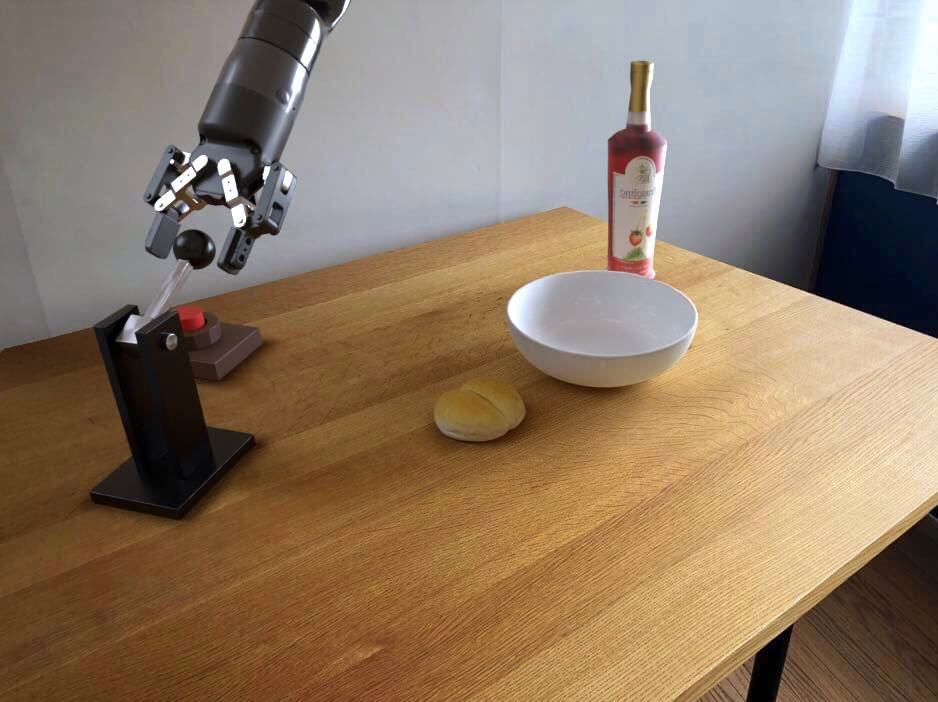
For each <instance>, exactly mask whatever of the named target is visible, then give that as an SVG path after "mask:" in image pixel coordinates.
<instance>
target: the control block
mask: <svg viewBox="0 0 938 702" xmlns="http://www.w3.org/2000/svg"><path fill="white" fill-rule="evenodd" d="M202 312H203V316H204V321H205V326H203V327H202V328H201V329H198V330H195V331H191V332H183V333H184V337H185V341H186V345H187V349H188V353H189V357H190V361H191V366H192V370H193V374H194V378H197V379H204V380H208V381H209V380H210V381H215V382H218V381H220V380H222V378H224V377H225V376H226V375H228V373H230V372H231V371H232V370H233V369H234V368H235V367H237V366H238V365H239V364H240V363H241V362H242V361H244V360H245V359H246V358H247V357H249V356H250V355H251V354H252V353H253V352H254V351H256V350H257V349H258V348H259V347H260V346H262V345H263V340H262V335H261V331H260V330H261V329H260V327H257V326H252V325H245V324H244V325H243V324H237V323H230V322H222V321H220V318H219V317H218V316H217V315H216V314H214V313H213V312H209V311H204V310H202Z"/></svg>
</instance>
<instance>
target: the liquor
mask: <svg viewBox="0 0 938 702" xmlns="http://www.w3.org/2000/svg"><path fill="white" fill-rule="evenodd" d="M629 70H630V71H629V82H630V94H629V101H628V102H629V103H628V108H627V109H628V110H627V117H626V122H625V123H626V124H625V128H623V129H621V130H617V131H616V132H615V133H613V135H611V136H610V137H609V138H608V139H607V265H606V267H605V268H604V270H603V271H616V272H624V273H631V274H636V275H641V276H645V277H648V278H651V279H655V276H656V272H655V270H654V268H653V265H654V264H653V263H654V252H655V245H656V243H655V242H656V233H657V225H658V216H659V209H660V203H661V196H662V189H663V181H664V171H665V163H666V155H667V147H668V140H667V139H666V138H665V137H664V136H662V135H661V133H660V132H657V131H655V130H653V129H651V98H650V93H651V91H650V90H651V86H652V81H653V75H654V62H653V61H649V60H634V61H633V60H632V61H631V62H630V69H629Z"/></svg>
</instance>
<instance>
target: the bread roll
mask: <svg viewBox="0 0 938 702" xmlns="http://www.w3.org/2000/svg"><path fill="white" fill-rule="evenodd" d="M526 412H527V410H526V406H525V404H524V401H523V398H522V397H521V395H520V394H519V392H518V391H517V390H516V388H514V386H512V385H511V384H510V383H508V382H507V381H505V380H504V379H502V378H499V377H496V376H495V377H494V376H478V377H474V378H472V379H470V380H469V381H467V382H466V383H465V384H464V385H462V387H461V388H459V389H452V390H451V389H450V390H448V391H446V392H444V393H442V395H440V397H438V399H437V400H436V402H435V404H434V406H433V419H434V421H435V422H434V423H435V424H436V426H437V428H438V429H439V430H440V433H442V434H443V435H445V436H446V437H449V438H451V439H454V440H458V441H463V442H464V441H466V442H487V441H488V442H489V441H493V440H495V439H498V438H500V437H502V436H504V435H506V434H507V433H508V432H509V431H511V430H514V429H516V428H517V427H518V426H519V425H520V424H521V423H522V421H523V420H524V418H525V416H526Z"/></svg>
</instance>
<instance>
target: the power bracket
mask: <svg viewBox="0 0 938 702" xmlns="http://www.w3.org/2000/svg"><path fill="white" fill-rule="evenodd" d="M131 315H138V316H141V312H140V310H139V306H138V305H137V304H130V303H127V304H126V305H124V306H123V307H121V308H119V309H118V310H116V311H115V312H113V313H111V314H109V315H108V316H106V317H104V318H103V319H101V320H100V321H99V322H97V323H95V324H93V325H92V329H93V332H94V335H95V339H96V343H97V345H98V349H99V352H100V355H101V358H102V361H103V364H104V365H103V366H104V368H105V371H106V375H107V378H108V381H109V385H110V388H111V391H112V395H113V398H114V401H115V405H116V408H117V410H118V414H119V417H120V421H121V424H122V428H123V430H124V433H125V436H126V441H127V443H128V447H129V450H130V453H131V456H129V457H128V458H127V459H126V460H125V461H124V462H123V463H121V464H120V465H119V466H117V468H115V469H114V470H113V471H111V472H110V473H109V474H108V475H106V477H104V478H103V479H102V480H101V481H100V482H98V483H97V484H96V485H95V486H94V487H93V488H91V489H90V490H89V491H88V494H89V496H90V499H91V502H92V503H93V504H94V503H95V504H99V505H103V506H109V507H114V508H117V509H118V508H119V509H124V510H128V511H134V512H138V513H144V514H147V515H148V514H149V515H153V516H158V517H162V518H167V519H172V520H178V521H181V520H183V518H184V517H185V516H186V515H188V513H189V512H190V511H191V510H193V508H194V507H195V506H196V505H197V504H198V503H199V502H200V501H201V500H203V498H204V497H205V496H206V495H207V494H208V493H209V492H210V491H211V490H212V489H213V488H214V487H215V486H216V485H217V484H218V483H219V482H221V480H222V479H223V478H224V477H225V476H226V475H227V474H228V473H229V472H230V471H231V470H232V469H233V468H234V467H235V466H236V465H237V464H238V463H239V462H240V461H241V460H242V459H243V458H244V457H245V456H246V455H247V454H248V453H249V452H250V451H251V450H252V448H254V447H255V446H256V445H257V444H256V443H257V441H256V437H255V434H254V433H249V432H243V431H238V430H232V429H226V428H220V427H214V426H209V425H207V423H206V420H205V416H204V410H203V406H202V403H201V399H200V395H199V390H198V387H197V383H196V382H197V381H196V377H194V374H193V370H192V366H191V361H190V357H189V353H188V349H187V345H186V341H185V337H184V333H183V329H182V325H181V321H180V316H179V312H178V311H175V310H174V309H169V310H167V311H165V312H164V313H162V314H161V315H159V316H158V317H157V318H155V319H154V320H152V321H151V322H149V323H148V324H146V325H145V326H143V327H142V328H140V329H139V330H137V331H136V332H134V333H135V337H136V340H137V344H138V347H139V351H140V354H141V358H142V359H139V358H132V357H129V356H128V355H127V354H126V352H125V351H124V350H123V349H122V348H121V347H120V346H119V344H118V343H117V342H116V341H115V340H116V338H117V336H118V335H119V333H120V332H121V330H122V328H123V327H124V325H125V324H126V322H127V320H128V319H129V317H130V316H131Z"/></svg>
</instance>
